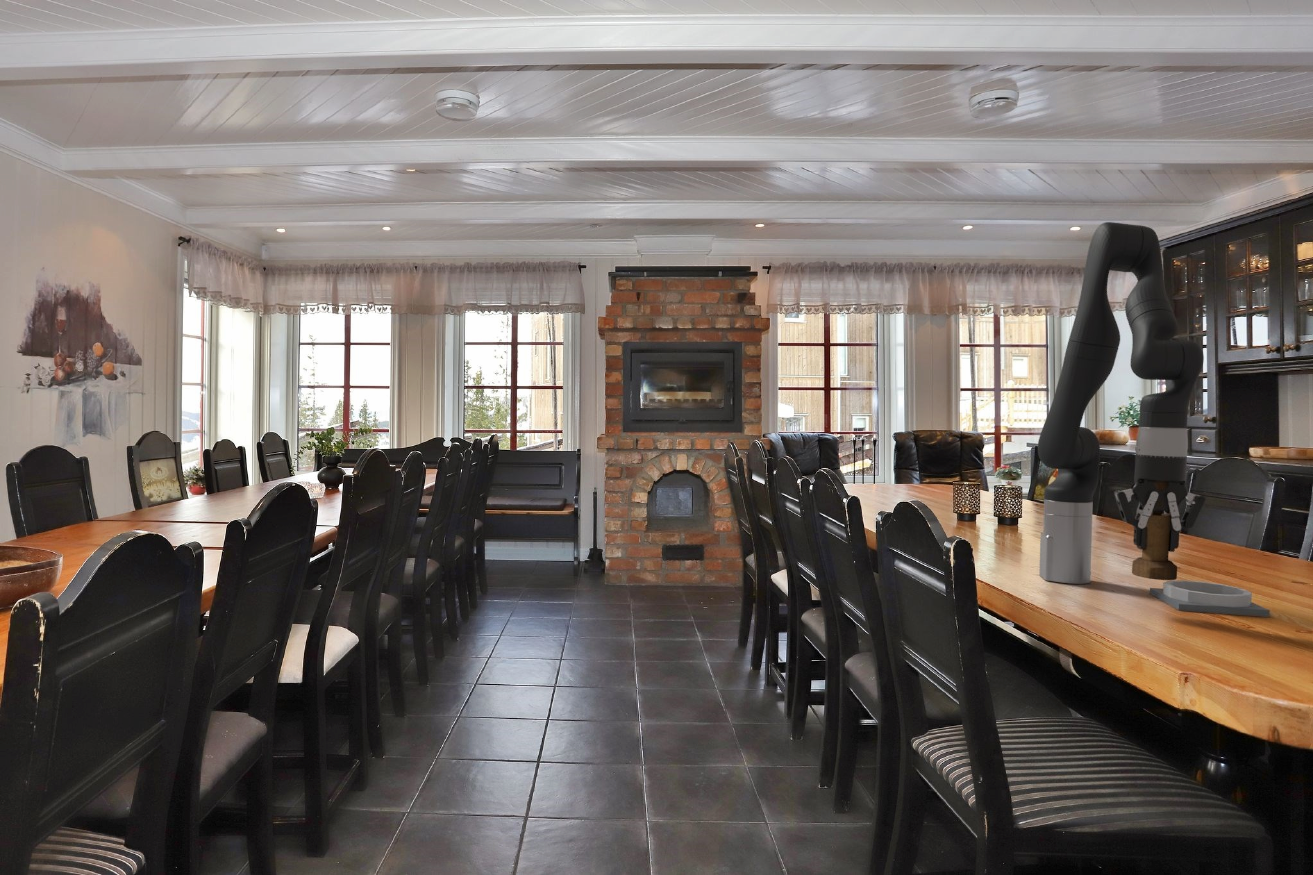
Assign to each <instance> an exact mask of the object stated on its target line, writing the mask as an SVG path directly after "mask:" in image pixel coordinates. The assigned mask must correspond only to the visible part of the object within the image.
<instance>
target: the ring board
mask: <svg viewBox="0 0 1313 875" xmlns="http://www.w3.org/2000/svg"><path fill="white" fill-rule="evenodd" d="M1162 585H1163V588H1160V587H1158V588H1157V587H1149V594H1150V595H1151V596H1153V597H1154V598H1156V599H1157V600H1160V601H1162V603H1165V604H1167V605H1168V606H1170V607H1171V608H1174V609H1176V610H1177V611H1182V612H1183V611H1184V612H1196V613H1209V614H1210V613H1211V614H1221V615H1222V614H1223V615H1237V616H1238V615H1239V616H1249V617H1250V616H1251V617H1252V616H1253V617H1265V618H1270V616H1271V615H1270V613H1271V610H1270V609H1268V608H1265V607H1263V606H1261V605H1258V604H1257V603H1254V602H1252V598H1253V597H1252V596H1253V595H1252V594H1253V593H1252V591H1249V590H1247V589H1244V588H1241V587H1236V586H1232V585H1227V584H1221V583H1214V582H1208V581H1200V580H1199V581H1197V580H1183V579H1181V580H1178V579H1176V580H1166V581H1165V582H1163V584H1162Z"/></svg>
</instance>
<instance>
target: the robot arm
mask: <svg viewBox="0 0 1313 875" xmlns="http://www.w3.org/2000/svg"><path fill="white" fill-rule="evenodd" d="M1163 266H1164V265H1163V260H1162V252H1161V246H1160V240H1159V238H1158V235H1157V233H1156V231H1155V230H1154V229H1153V228H1151V227H1149V226H1144V225H1140V224H1139V225H1138V224H1129V223H1120V222H1115V221H1114V222H1113V221H1110V222H1108V221H1106V222H1103V223H1101V224H1099V226H1098V227H1096V229H1095V230H1094V233H1093V235H1092V236H1091V240H1090V243H1089V246H1088V251H1087V256H1086V260H1085V267H1084V272H1083V279H1082V280H1083V281H1082V285H1081V290H1080V295H1079V301H1078V303H1077V304H1078V305H1077V309H1076V313H1075V317H1074V321H1073V324H1072V327H1071V331H1070V334H1069V338H1068V341H1067V346H1066V349H1065V353H1064V357H1063V362H1062V367H1061V371H1060V374H1059V378H1058V382H1057V386H1056V388H1055V394H1054V396H1053V399H1052V402H1051V406H1050V408H1049V411H1048V413H1047V416H1046V418H1045V422H1044V423H1043V427H1042V429H1041V431H1040V435H1039V438H1038V441H1037V443H1038V444H1037V454H1038V457H1039V460H1040V462H1041V463H1042V464H1043V466H1045V467H1047V468H1049V469H1052V470H1053V469H1054V470H1058V471H1057V476H1056V477H1055V479H1054V480H1053V481H1052V482H1050V483H1049V484H1047V485H1046V486H1045V488H1044V494H1043V527H1042V528H1043V529H1042V530H1043V531H1042V532H1041V533H1040V536H1039V538H1040V540H1039V541H1040V543H1039V544H1040V545H1039V548H1040V549H1039V570H1038V571H1039V576H1040V577H1041V578H1042V579H1043V580H1045V581H1048V582H1049V581H1050V582H1055V583H1056V582H1057V583H1063V584H1064V583H1065V584H1076V585H1078V584H1079V585H1084V584H1089V583H1091V576H1092V575H1091V574H1092V541H1093V539H1092V537H1093V534H1092V533H1093V507H1094V506H1093V505H1094V504H1093V501H1094V494H1095V492H1096V491H1097V490H1096V489H1097V487H1098V485H1099V484H1098V483H1099V476H1100V474H1099V473H1100V463H1101V462H1100V461H1101V459H1100V458H1101V446H1100V445H1101V444H1100V441H1099V438H1098V437H1097V435H1096V433H1095V432H1094V431H1092V430H1091V429H1090V428H1087V427H1083V426H1081V425H1082V420H1083V417H1084V414H1085V411H1086V409H1087V407H1088V405H1089V403H1090V402H1091V401H1092V399H1093V397H1094V396H1096V394H1097V393H1098V391H1099V390H1100V389H1101V388H1102V386H1103V385H1104V383H1105V382H1106V381H1107V380H1108V378H1109V376H1110V375H1111V373H1112V370H1113V369H1114V366H1115V362H1116V358H1117V355H1118V350H1119V347H1120V344H1121V333H1120V329H1119V326H1118V323H1117V320H1116V318H1115V315H1114V312H1113V309H1112V308H1111V307H1112V306H1111V304H1110V302H1109V301H1110V300H1109V296H1108V284H1109V283H1108V281H1109V275H1110V271H1114V272H1120V273H1131V274H1133V275H1134V276H1135V278H1136V280H1137V282H1136V284H1135V285H1134V286H1133V288H1132V290H1131V291H1130V292H1129V294H1128V296H1127V298H1126V302H1125V305H1124V306H1125V308H1124V310H1125V317H1126V320H1127V323H1128V326H1129V329H1130V331H1131V336H1132V337H1131V338H1132V345H1131V346H1132V348H1131V355H1130V365H1129V366H1130V368H1131V371H1132V372H1133V374H1134V375H1135V376H1137V378H1139V379H1141V380H1148V381H1160V380H1161V381H1171V383H1170V385H1169V386H1168V388H1167V389H1166V390H1165V391H1163V392H1156V393H1150V394H1147V395H1144V396H1143V397H1141V399H1140V403H1139V415H1138V416H1139V419H1138V432H1137V435H1136V441H1135V442H1136V443H1135V448H1134V451H1135V458H1134V459H1135V460H1134V474H1133V475H1134V478H1133V479H1134V480H1133V483H1132V485H1131V486H1130V488H1128V489H1123V490H1115V491H1114V492H1113V496H1114V498H1115V501H1116V502H1115V503H1116V504H1117V507H1118V510H1119V514H1120V517H1121V520H1122V521H1123V522H1124V523H1126V524H1129V525H1131V526H1133V539H1132V540H1133V544H1134V545H1135V546H1136V548H1137V549H1139V550H1141V551H1142V550H1145V547H1146V529H1145V526H1146V524H1147V521H1148V518H1149V517H1150V516H1151V513H1153V512H1152V511H1156V510H1162V511H1163V514H1167V515H1168V516H1169V515H1170V535H1169V553H1174V552H1175V550H1176V549H1178V548H1179V545H1180V544H1179V542H1180V532H1181V531H1182V530H1183V529H1191V528H1193V527H1194V525H1195V523H1196V521H1197V518H1198V517H1199V514H1200V512H1201V510H1202V509H1203V508H1202V507H1203V506H1204V504H1205V502H1206V498H1205V496H1204V495H1199V494H1195V493H1192V492H1189V490H1188V488H1187V486H1186V479H1187V477H1186V476H1187V465H1188V464H1187V462H1188V460H1187V459H1188V447H1189V446H1188V445H1189V440H1188V431H1187V430H1188V429H1187V428H1188V415H1189V414H1188V412H1189V405H1190V401H1191V398H1192V395H1193V391H1194V389H1195V386H1196V383H1197V381H1198V379H1199V376H1200V373H1201V372H1202V369H1203V365H1204V361H1205V360H1204V358H1205V357H1204V352H1203V349H1202V347H1201V346H1200V345H1199V344H1198V343H1197V342H1196V341H1193V340H1188V339H1173V338H1175V336H1176V335H1177V333H1178V331H1179V324H1178V321H1177V317H1176V315H1175V312H1174V310H1173V307H1172V305H1171V303H1170V300H1169V298H1168V294H1167V291H1166V287H1165V278H1164V277H1165V276H1164V268H1163ZM1157 481H1163V482H1168V484H1169V485H1168V487H1167V488H1166V489H1165V490H1164V491H1159V490H1158V489H1157V488H1156V487H1155V482H1157ZM1132 496H1134V498H1135V499H1136V501H1137V502H1138V506H1137V508H1136V515H1135V516H1134V514H1133V513H1132V509H1131V506H1130V503H1129V502H1131V501H1132ZM1184 499H1185V500H1186V501H1185V503H1186V505H1187V506H1186V508H1185V510H1184V512H1183V515H1182V516H1181V518H1180V512H1179V511H1180V510H1179V507H1178V506H1179V505H1180V504H1181V502H1182V501H1183V500H1184ZM1157 501H1163V504H1162V505H1161V506H1159V505H1158V503H1157Z"/></svg>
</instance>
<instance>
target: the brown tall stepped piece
mask: <svg viewBox="0 0 1313 875" xmlns="http://www.w3.org/2000/svg"><path fill="white" fill-rule="evenodd" d="M1168 485H1169V484H1168V482H1163V481H1157V482H1155V487H1156V488H1157V489H1158V490H1159V491H1164V490H1165V489H1166V488H1167V487H1168ZM1157 503H1158V505H1159V506H1161V505H1162V504H1163V501H1157ZM1145 529H1146V547H1145V550H1142V549H1141V556H1140V557H1137V558H1136V559H1134V560H1133V561H1132V565H1131V574H1132V575H1133V576H1136V577H1140V578H1144V579H1150V580H1156V581H1158V580H1159V581H1177V580H1178V579H1177V578H1178V566H1177V564H1175V563H1174V562H1173V561H1172V560H1169V553H1170V552H1169V535H1170V515H1169V516H1168V515H1167V514H1164V511H1162V510H1156V511H1152V513H1151V516H1150V517H1149V518H1148V521H1147V524H1146V526H1145Z"/></svg>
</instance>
